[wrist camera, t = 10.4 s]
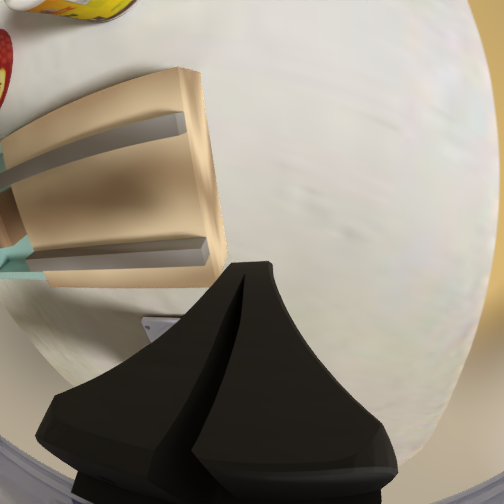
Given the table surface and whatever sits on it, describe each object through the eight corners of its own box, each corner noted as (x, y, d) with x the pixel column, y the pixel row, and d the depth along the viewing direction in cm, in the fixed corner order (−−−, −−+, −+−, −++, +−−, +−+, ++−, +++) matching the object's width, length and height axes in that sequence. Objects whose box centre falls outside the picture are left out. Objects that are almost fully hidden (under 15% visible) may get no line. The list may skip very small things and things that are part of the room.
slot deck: (228, 252, 20) (213, 300, 16) (75, 260, 22) (42, 295, 17) (200, 72, 14) (168, 64, 10) (35, 128, 16) (-12, 145, 11)
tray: (73, 260, 22) (55, 279, 19) (12, 263, 23) (-4, 278, 21) (34, 129, 16) (8, 138, 13) (-22, 162, 17) (-42, 173, 15)
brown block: (24, 227, 20) (42, 222, 19) (-4, 249, 16) (12, 246, 16) (10, 186, 18) (28, 178, 17) (-21, 205, 14) (-6, 197, 14)
